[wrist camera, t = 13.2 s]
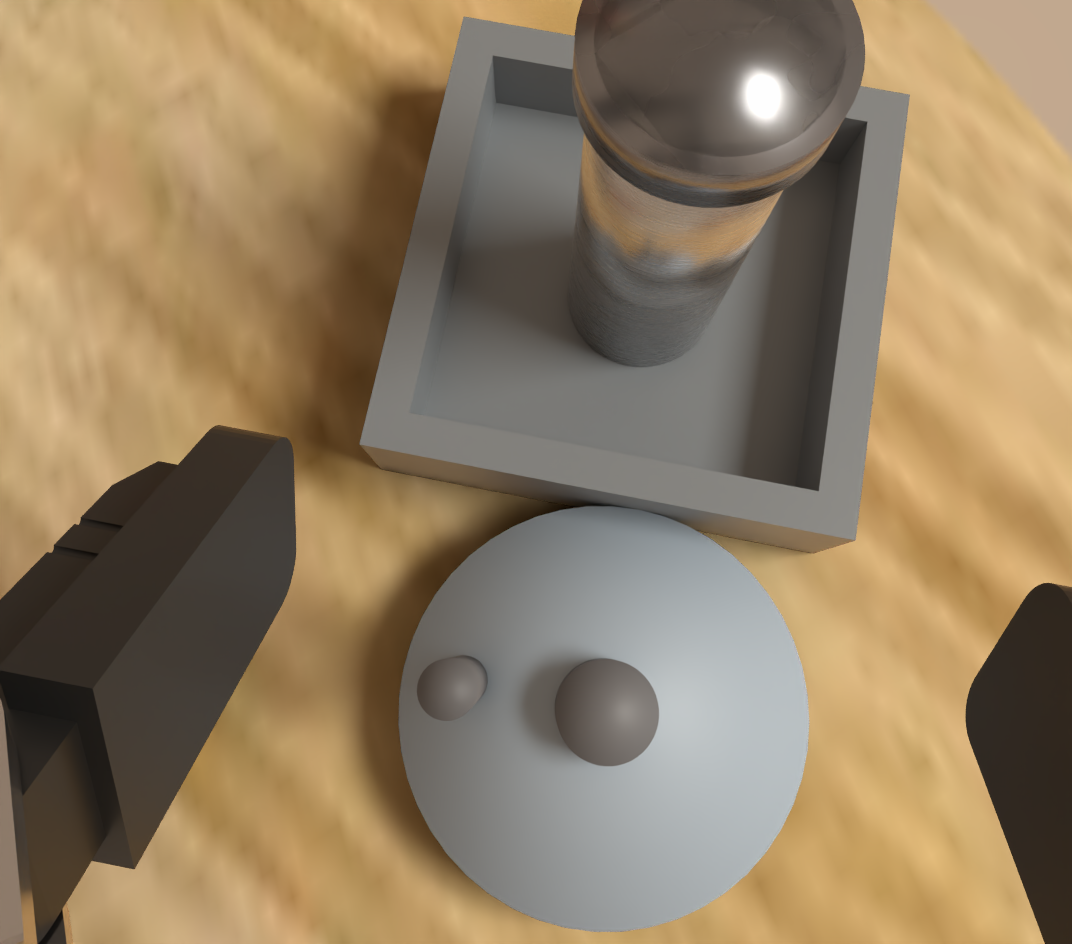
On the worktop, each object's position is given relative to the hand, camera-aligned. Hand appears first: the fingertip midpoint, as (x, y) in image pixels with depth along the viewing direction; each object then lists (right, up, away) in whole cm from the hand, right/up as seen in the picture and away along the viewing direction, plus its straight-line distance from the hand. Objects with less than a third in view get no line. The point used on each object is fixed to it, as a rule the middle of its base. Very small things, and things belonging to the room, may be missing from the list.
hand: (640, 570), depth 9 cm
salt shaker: (+2, +6, +14) cm, 15 cm away
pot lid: (0, -5, +13) cm, 14 cm away
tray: (+2, +6, +15) cm, 16 cm away
